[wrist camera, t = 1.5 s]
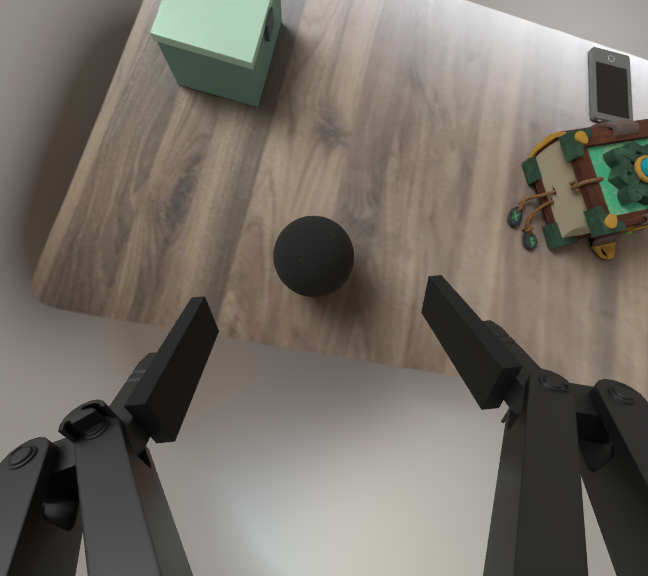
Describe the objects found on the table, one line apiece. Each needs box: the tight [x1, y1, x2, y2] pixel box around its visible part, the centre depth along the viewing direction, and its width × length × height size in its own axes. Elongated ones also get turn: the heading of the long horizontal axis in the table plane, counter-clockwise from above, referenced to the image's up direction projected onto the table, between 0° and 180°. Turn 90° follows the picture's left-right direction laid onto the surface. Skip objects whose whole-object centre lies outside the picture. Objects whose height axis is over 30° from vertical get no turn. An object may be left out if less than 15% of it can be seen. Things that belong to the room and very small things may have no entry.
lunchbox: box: [150, 0, 282, 107], centre depth 36 cm, size 16×13×7 cm
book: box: [508, 119, 648, 260], centre depth 38 cm, size 27×21×10 cm
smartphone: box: [588, 47, 633, 123], centre depth 47 cm, size 15×8×1 cm, turn 173°
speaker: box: [274, 216, 354, 297], centre depth 32 cm, size 10×10×10 cm
